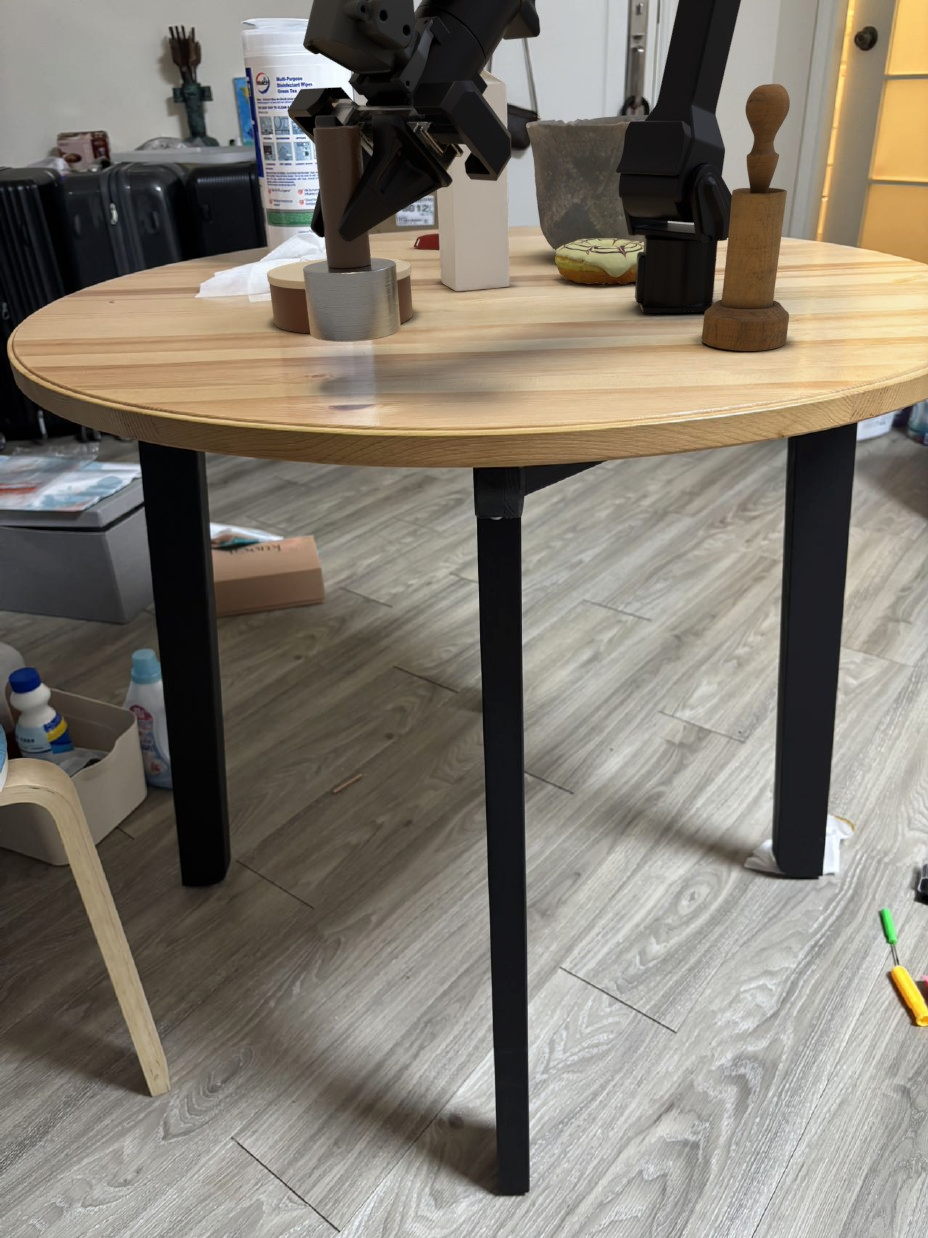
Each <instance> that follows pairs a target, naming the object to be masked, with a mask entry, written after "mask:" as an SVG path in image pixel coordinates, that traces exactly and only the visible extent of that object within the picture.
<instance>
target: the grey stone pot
mask: <svg viewBox="0 0 928 1238" xmlns="http://www.w3.org/2000/svg"><path fill="white" fill-rule="evenodd" d="M648 115H649V114H643V115H640V114H637V115H636V114H632V115H631V114H629V115H617V116H603V117H596V118H595V117H594V118H589V119H588V118H584V119H580V118H577V119H575V120H569V121H567V122H565V121H564V120H562V119H558V120H555V119H548V120H546V119H545V120H539V121H537V120H536V121H531V122H530V121H529V122H527V123H526V125H525V127H526V131H527V134H528V138H529V144H530V147H531V152H532V153H531V154H532V157H533V168H534V184H535V196H536V204H537V214H538V221H539V226H540V230H541V233H542V235H543V236H544V238H545V240H546V242H547V243H548V245H549V246H550V248H552V249H553V250H554V251H556V249H558V248H559V247H561V246H563V245H565V244H569V243H571V242H573V241H576V240H579V239H592V238H615V239H625V240H633V241H639V242H644V236H643V235H635V236H633V235H629V234H628V229H627V224H626V219H625V214H624V209H623V204H622V200H621V198H620V197H619V189H618V187H619V178H620V174H621V173H616V169H617V167H618V165H619V163H620V160H621V157H622V153H623V147H624V138H625V131H626V129H627V127H628V125H629V123H630V122H631V121H645V119H646V118H647V117H648Z"/></svg>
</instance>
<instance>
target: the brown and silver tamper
mask: <svg viewBox="0 0 928 1238" xmlns="http://www.w3.org/2000/svg"><path fill="white" fill-rule="evenodd" d="M313 131H314V141H315V144H314V150H315V158H316V168H317V178H318V187H319V188H318V190H319V189H320V198H321V208H322V217H323V227H324V237H323V238H324V245H325V255H326V259H327V261H321V262H316V263H312V264H309V265H307V266H305V267H304V268H303V275H304V283H305V292H306V300H307V309H308V318H309V326H310V333H309V334H310V336H311V337H312V338H314V339H316V340H320V341H324V342H332V343H333V342H335V343H352V342H354V343H355V342H366V341H373V340H378V339H383V338H387V337H390V336H393V335H395V334H397V333H398V332H400V331H401V323H400V314H399V300H398V286H397V272H396V263H395V262H394V261H392V260H389V259H382V258H383V257H379V258H371V257H372V256H371V246H370V245H371V243H370V234H369V230H368V231H367V232H365V233H364V234H362V235H360V236H359V237H357V238H356V239H354V240H352V241H350V242H348V241H345V240H344V239H343V238H342V237H341V236H340V235H339V234H338V232H337V228H338V226H339V223H340V221H341V219H342V216H343V214H344V211H345V209H346V207H347V205H348V203H349V201H350V199H351V197H352V195H353V193H354V191H355V189H356V187H357V185H358V183H359V181H360V179H361V177H362V175H363V173H364V172H363V160H362V148H361V136H360V127H359V126H330V127H317V128H314V129H313Z"/></svg>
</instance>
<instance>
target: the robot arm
mask: <svg viewBox="0 0 928 1238" xmlns="http://www.w3.org/2000/svg"><path fill="white" fill-rule="evenodd" d="M414 2H415V1H414V0H313V1H312V5H311V9H310V13H309V16H308V17H309V18H308V21H307V26H306V30H305V34H304V37H303V41H302V46H303V48H304V49H305V50H307V51H308V52H309V53H312V54H313V55H319V54H320V55H321V56H323V57H325V58H326V59H329V60H330V61H332V62H334V63H335V64H337V65H339V66H340V67H342V68H344V69H346V70H348V71H350V72H353V73H352V75H350V77H349V79H348V80H347V82H348V83H349V85H350V86H351V88H353V90H354V91H355V92H356V93H357V95H359V96H363V97H364V98H365V99H366V102H365V105H364V106H363V105H360V104H359V103H357V102H356V101H354V100H353V99H352V98H351V97H350V95H349V94H348V93H347V92H346V91H345V89H343V87H342V86H336V87H316V88H300V89H299V91H298V92H297V94H296V96H295V98H294V99H293V100H292V102H291V104H290V105H289V107H288V108H287V110H286V111H287V115H288V118H289V119H290V120H292V121H293V123H294V124H295V126H297V127H298V128H299V129H300V130H301V131H302V132H303V133H304V134H305V136H307V138H308V139H309V140H310V141H311V142H312V143H313V144H314V145H315V141H314V131H313V129H314V128H317V127H330V126H359V127H360V136H361V148H362V160H363V172H364V173H363V175H362V177H361V179H360V181H359V183H358V185H357V187H356V189H355V191H354V193H353V195H352V197H351V199H350V201H349V203H348V205H347V207H346V209H345V211H344V214H343V216H342V219H341V221H340V223H339V226H338V228H337V232H338V234H339V235H340V236H341V237H342V238H343V239H344V240H345V241H348V242H350V241H352V240H354V239H356V238H357V237H359V236H360V235H362V234H364V233H365V232H367V231H368V232H369V231H370V230H372V229H373V228H375V227H377V226H378V225H379V224H381V223H383V222H385V221H386V220H388V219H389V218H391V217H392V216H394V215H396V214H397V213H399V212H401V211H403V210H404V209H406V208H408V207H410V206H411V205H413V204H415V203H417V202H418V201H420V200H422V199H424V198H426V197H428V196H429V195H431V194H433V193H434V192H437V190H438V189H440V188H443V187H448V186H450V185H451V183H452V181H453V180H452V178H451V176H450V175H449V174H448V173H447V170H448V169H449V167H450V165H451V164H452V162H453V160H454V159H455V157H461V156H462V155H463V153H464V152H463V150H462V149H461V147H460V146H459V145H458V144H465V145H466V146H467V147H468V149H469V150H470V151H471V153H470V155H469V156H468V158H467V159H466V161H465V163H464V164H465V171H466V174H467V175H468V177H469V178H470V179H471V180H487V181H497V180H498V178H499V176H500V175H501V173H502V171H503V170H504V168H505V167H506V165H507V163H508V164H509V161H510V160H511V158H512V133H511V132H510V131H509V129H508V127H507V128H506V127H505V126H504V124H503V123H502V121H501V120H500V119H499V117H498V116H497V115H496V113H495V112H494V110H493V109H492V108H491V106H490V105H489V104H488V102H487V101H486V99H485V98H484V97H483V93H484V91H485V90H486V88H487V87H488V85H487V84H486V82H485V81H484V80H483V78H482V77H481V75H480V74H481V72H482V71H483V69H485V67H486V66H487V64H488V62H489V61H490V59H491V58H492V56H493V55H494V54H495V51H496V49H497V48H498V47H499V45H500V43H501V41H502V40H505V41H510V40H521V39H532V38H537V37H539V36H540V34H541V23H540V16H539V13H538V12H537V8H536V7H537V6H536V0H421V1H420V3H419V5H418V6H417V7H416V9H415V3H414ZM741 3H742V0H678V2H677V6H676V11H675V16H674V21H673V25H672V31H671V34H670V35H671V36H670V40H669V46H668V48H667V49H668V50H667V55H666V59H665V64H664V68H663V73H662V78H661V82H660V87H659V91H658V96H657V100H656V104H655V106H654V107H652V110H651V111H650V112H649V114H647V115H648V117H647V118H646V119H645V121H631V122H630V123H629V125H628V127H627V129H626V131H625V138H624V147H623V153H622V157H621V160H620V163H619V165H618V167H617V169H616V173H621V174H620V178H619V187H618V189H619V197H620V198H621V200H622V204H623V209H624V214H625V219H626V224H627V229H628V234H629V235H633V236H635V235H643V236H644V250H643V252H639V253H638V254H637V263H636V282H635V286H634V287H635V288H634V299H635V302H636V303H637V305H640V309H641V312H642V313H643V314H664V313H665V314H674V313H675V314H679V313H705V311H706V310H707V309H708V308H710V307H711V306H712V305H713V304H714V303H715V301H714V291H715V279H716V267H717V255H718V244H719V243H718V242H725V241H728V235H729V224H730V213H731V201H732V192H731V190H730V189H729V187H728V186H727V183H726V181H725V179H724V178H723V171H724V162H725V156H726V147H725V143H724V140H723V136H722V133H721V129H720V125H719V122H718V118H717V108H718V103H719V98H720V94H721V90H722V86H723V81H724V76H725V72H726V68H727V63H728V60H729V55H730V51H731V47H732V46H731V45H732V42H733V37H734V33H735V30H736V25H737V20H738V16H739V11H740V7H741ZM317 192H318V193H317V196H316V201H315V205H314V209H313V212H312V217H311V221H310V230H311V231H312V232H313V233H314V234H315V235H316V236H317V237H318V238H322V239H323V238H325V237H324V227H323V217H322V208H321V198H320V189H319V188H318V191H317Z"/></svg>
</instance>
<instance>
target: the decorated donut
mask: <svg viewBox="0 0 928 1238" xmlns="http://www.w3.org/2000/svg"><path fill="white" fill-rule="evenodd" d="M643 250H644V242H639V241H633V240H625V239H615V238H592V239H579V240H576V241H573V242H571V243H569V244H565V245H563V246H561V247H559V248H558V249H556V250H555V258H554V262H555V265H556V267H557V270H558V272H559V274H560V275H561V276H562V277H563V278H564V280H565V281H573V282H574V283H576V284H586V285H594V284H599V285H604V284H606V283H607V284H610V285H616V284H617V283H619V284H620V285H626V284H628V283H629V284H630V283H634V282H635V283H636V263H637V254H638V253H639V252H643Z"/></svg>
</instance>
